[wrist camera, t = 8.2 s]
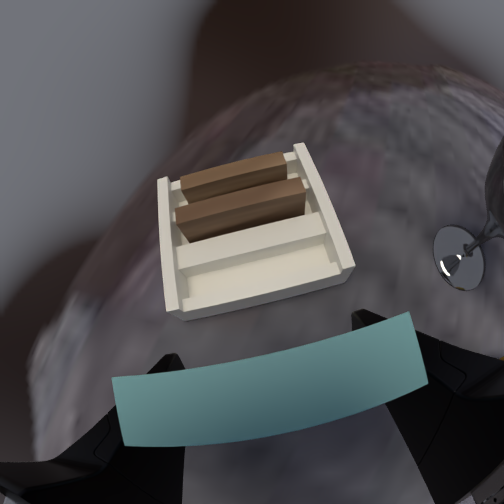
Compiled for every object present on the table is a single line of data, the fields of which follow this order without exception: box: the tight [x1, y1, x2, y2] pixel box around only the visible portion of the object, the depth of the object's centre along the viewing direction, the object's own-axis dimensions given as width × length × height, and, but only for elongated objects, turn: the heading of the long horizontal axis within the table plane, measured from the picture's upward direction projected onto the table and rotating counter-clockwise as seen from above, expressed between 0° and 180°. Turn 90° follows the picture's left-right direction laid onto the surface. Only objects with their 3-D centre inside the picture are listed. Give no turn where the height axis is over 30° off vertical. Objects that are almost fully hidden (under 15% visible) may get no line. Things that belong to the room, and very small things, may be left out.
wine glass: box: [433, 136, 504, 291], centre depth 15 cm, size 8×8×15 cm
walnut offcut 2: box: [175, 177, 306, 243], centre depth 23 cm, size 2×10×4 cm, turn 102°
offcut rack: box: [158, 143, 356, 321], centre depth 24 cm, size 12×14×4 cm
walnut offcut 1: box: [180, 151, 287, 204], centre depth 25 cm, size 2×9×4 cm, turn 102°
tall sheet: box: [112, 312, 428, 447], centre depth 9 cm, size 2×6×10 cm, turn 102°
